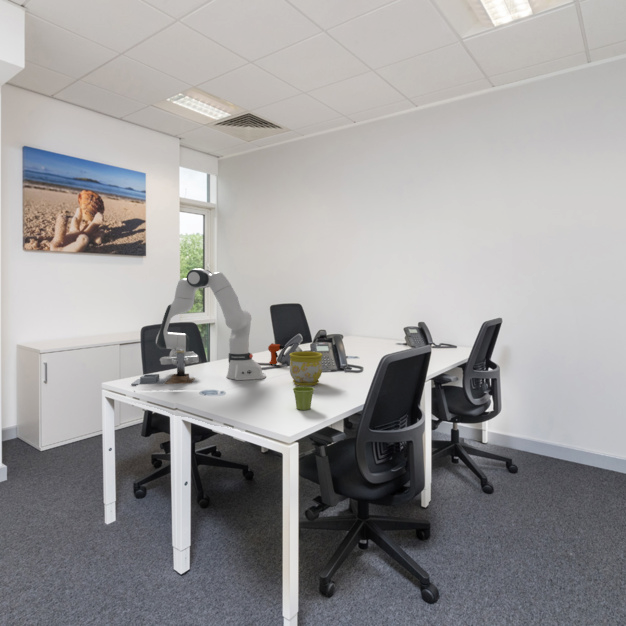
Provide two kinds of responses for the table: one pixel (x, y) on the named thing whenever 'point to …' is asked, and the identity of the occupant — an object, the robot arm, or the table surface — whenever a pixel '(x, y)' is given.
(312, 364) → the flowerpot
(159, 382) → the rack block
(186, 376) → the socket block
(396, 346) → the table surface
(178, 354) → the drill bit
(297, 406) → the plant pot
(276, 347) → the toy drill
